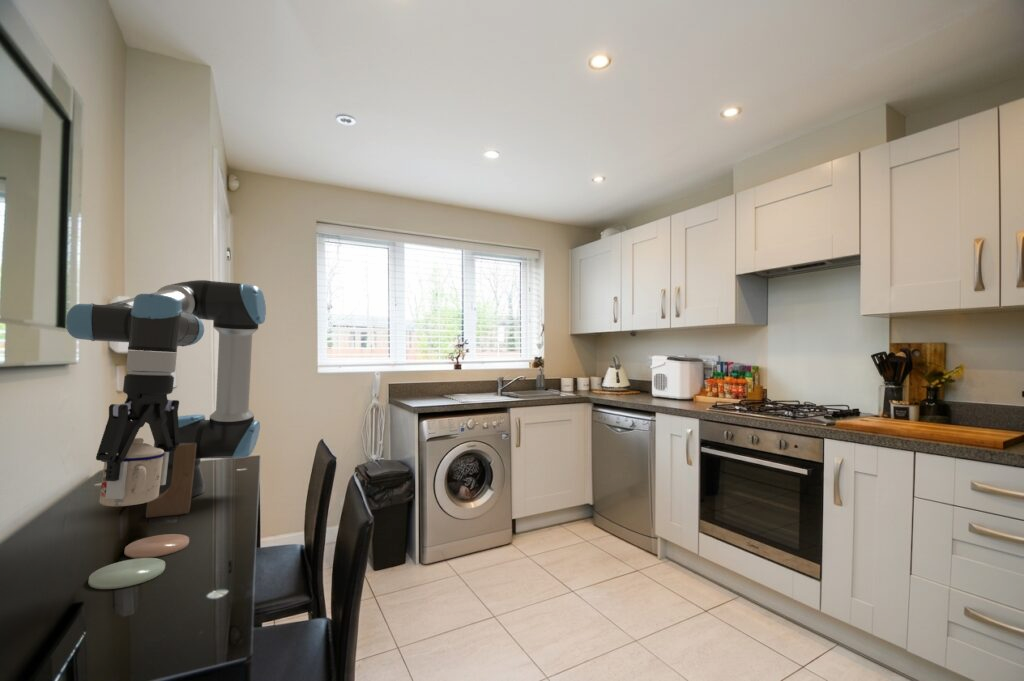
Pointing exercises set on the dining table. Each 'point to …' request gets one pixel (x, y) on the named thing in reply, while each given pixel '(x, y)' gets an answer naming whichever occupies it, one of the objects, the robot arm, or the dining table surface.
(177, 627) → the dining table surface
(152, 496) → the teacup with lid
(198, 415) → the robot arm
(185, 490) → the wooden block
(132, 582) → the sage coaster
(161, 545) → the pink coaster
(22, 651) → the dining table surface
